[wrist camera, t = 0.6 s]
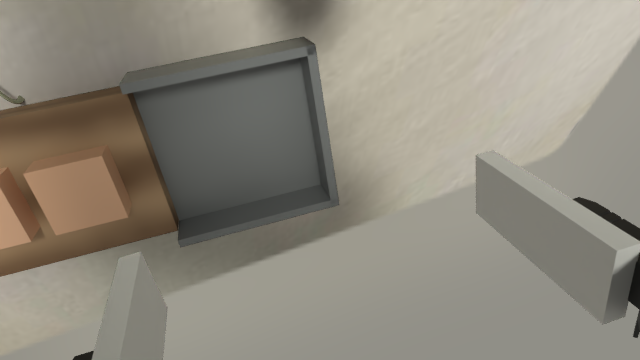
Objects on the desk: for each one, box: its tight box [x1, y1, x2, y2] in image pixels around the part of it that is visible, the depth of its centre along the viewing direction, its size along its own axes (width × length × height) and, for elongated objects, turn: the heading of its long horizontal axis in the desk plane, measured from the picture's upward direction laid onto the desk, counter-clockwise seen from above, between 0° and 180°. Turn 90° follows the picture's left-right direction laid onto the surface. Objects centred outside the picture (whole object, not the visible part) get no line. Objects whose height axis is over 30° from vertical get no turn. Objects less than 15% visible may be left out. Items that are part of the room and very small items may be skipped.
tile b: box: [23, 145, 132, 235], centre depth 37 cm, size 6×6×2 cm
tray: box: [119, 37, 339, 247], centre depth 41 cm, size 16×16×4 cm
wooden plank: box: [0, 86, 179, 277], centre depth 39 cm, size 14×20×3 cm
